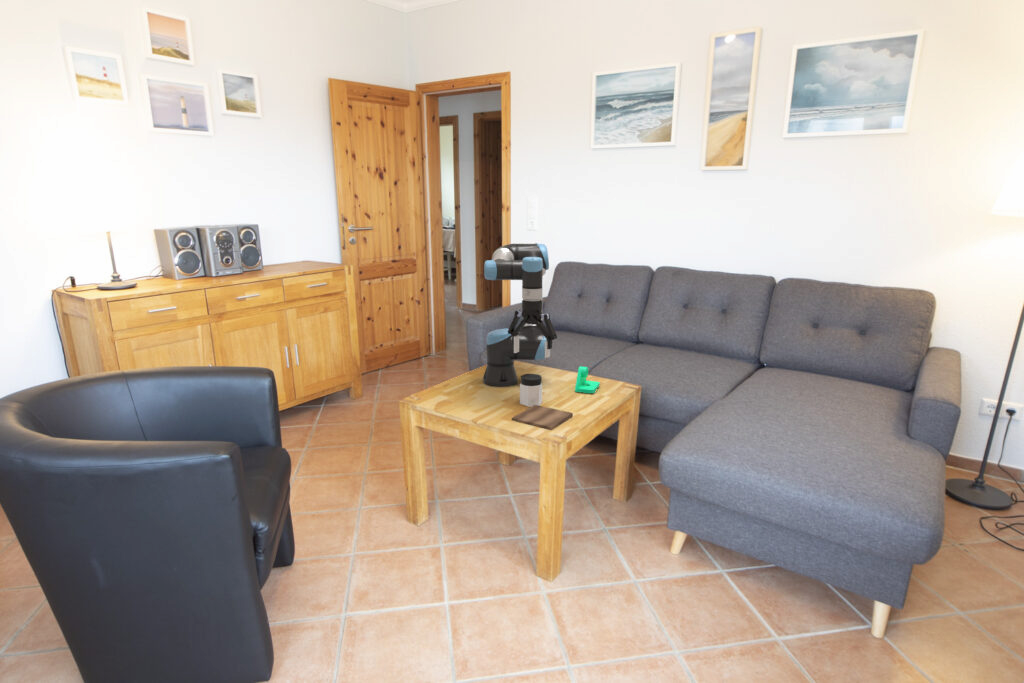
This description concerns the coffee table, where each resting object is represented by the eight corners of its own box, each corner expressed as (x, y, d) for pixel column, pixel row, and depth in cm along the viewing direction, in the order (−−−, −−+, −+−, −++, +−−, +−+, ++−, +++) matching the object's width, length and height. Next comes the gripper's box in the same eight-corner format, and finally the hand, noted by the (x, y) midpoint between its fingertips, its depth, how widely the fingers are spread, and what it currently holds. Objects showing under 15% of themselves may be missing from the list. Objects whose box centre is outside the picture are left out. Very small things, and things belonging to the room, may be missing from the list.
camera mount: (592, 396, 228) (593, 372, 225) (574, 394, 231) (575, 370, 228) (600, 387, 239) (601, 364, 236) (582, 385, 242) (583, 362, 239)
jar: (522, 410, 212) (522, 380, 209) (517, 403, 219) (517, 374, 217) (544, 408, 214) (545, 378, 211) (539, 401, 221) (539, 372, 219)
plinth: (511, 424, 198) (511, 417, 197) (534, 410, 211) (534, 404, 211) (551, 434, 190) (551, 427, 189) (572, 419, 203) (572, 412, 202)
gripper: (498, 297, 210) (498, 352, 215) (557, 303, 197) (556, 361, 202) (509, 295, 216) (509, 348, 221) (566, 300, 203) (565, 357, 208)
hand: (531, 354), depth 212 cm, fingers open, 13 cm apart
